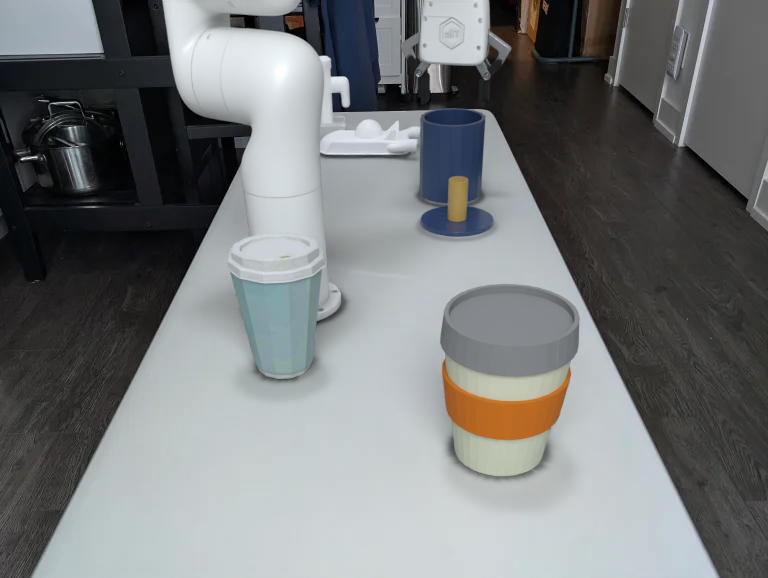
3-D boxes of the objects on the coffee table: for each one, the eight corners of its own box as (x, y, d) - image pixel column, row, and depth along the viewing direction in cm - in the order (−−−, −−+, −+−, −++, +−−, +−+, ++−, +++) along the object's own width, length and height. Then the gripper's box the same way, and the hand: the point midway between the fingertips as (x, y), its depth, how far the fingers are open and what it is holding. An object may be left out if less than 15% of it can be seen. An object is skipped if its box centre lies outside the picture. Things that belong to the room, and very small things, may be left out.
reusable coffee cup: (457, 405, 87) (464, 275, 77) (572, 427, 83) (594, 293, 74) (419, 471, 78) (421, 334, 68) (546, 499, 75) (566, 358, 65)
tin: (474, 209, 131) (478, 128, 123) (412, 203, 134) (413, 123, 126) (486, 188, 139) (491, 110, 131) (427, 183, 141) (428, 106, 133)
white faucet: (352, 145, 159) (348, 60, 149) (304, 147, 158) (298, 62, 149) (350, 134, 164) (347, 52, 155) (305, 136, 164) (298, 54, 154)
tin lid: (485, 243, 121) (488, 195, 116) (412, 236, 123) (412, 188, 118) (498, 216, 129) (502, 170, 124) (430, 210, 131) (431, 164, 127)
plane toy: (321, 142, 160) (319, 111, 157) (421, 144, 158) (421, 112, 155) (312, 159, 152) (310, 126, 149) (416, 161, 151) (417, 128, 147)
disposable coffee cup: (232, 353, 97) (213, 231, 87) (317, 336, 99) (308, 216, 90) (254, 397, 89) (235, 269, 79) (345, 378, 92) (338, 252, 82)
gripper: (393, -24, 115) (394, 107, 126) (513, -21, 111) (503, 114, 122) (407, -30, 120) (406, 95, 132) (521, -28, 116) (511, 101, 128)
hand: (453, 104), depth 127 cm, fingers open, 8 cm apart
